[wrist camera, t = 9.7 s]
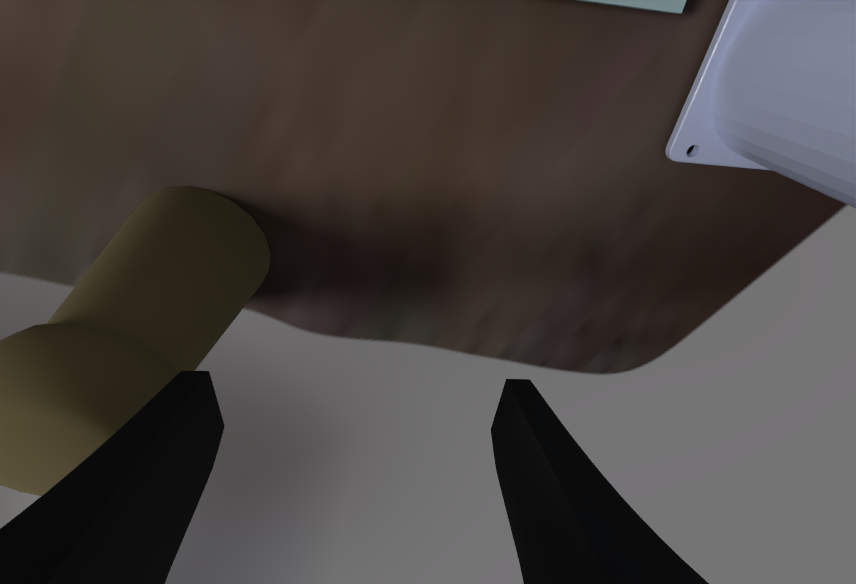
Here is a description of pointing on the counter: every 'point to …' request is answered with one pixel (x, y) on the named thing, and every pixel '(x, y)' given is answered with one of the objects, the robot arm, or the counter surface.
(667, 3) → the socket
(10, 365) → the cork
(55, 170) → the counter surface
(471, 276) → the counter surface
